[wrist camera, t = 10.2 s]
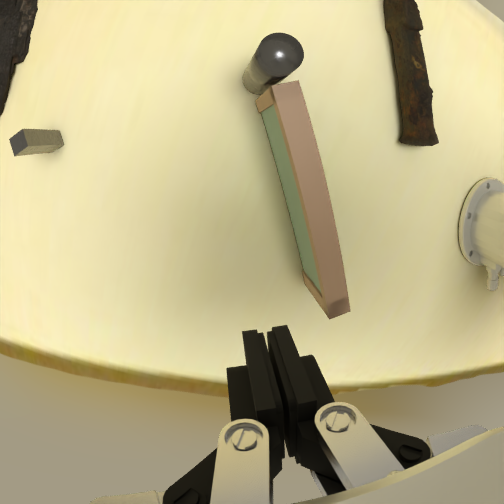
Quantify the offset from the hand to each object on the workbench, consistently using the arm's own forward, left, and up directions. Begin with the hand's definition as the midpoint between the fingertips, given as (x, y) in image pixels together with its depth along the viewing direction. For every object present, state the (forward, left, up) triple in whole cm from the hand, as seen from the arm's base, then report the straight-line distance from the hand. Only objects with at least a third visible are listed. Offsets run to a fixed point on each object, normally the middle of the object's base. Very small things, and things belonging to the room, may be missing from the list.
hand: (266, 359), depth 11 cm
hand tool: (+11, -23, -20) cm, 33 cm away
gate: (+1, -7, -19) cm, 20 cm away
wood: (+31, +15, -20) cm, 40 cm away
